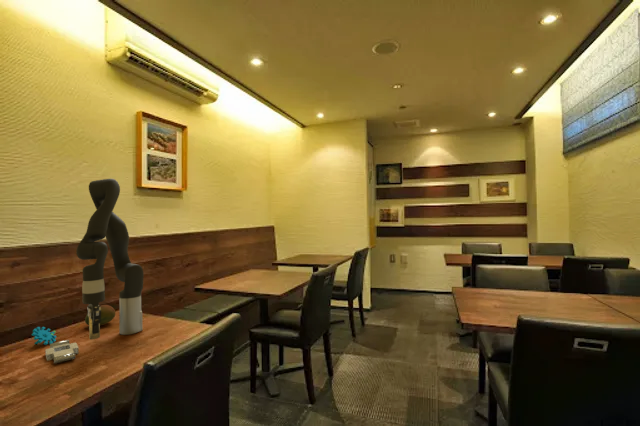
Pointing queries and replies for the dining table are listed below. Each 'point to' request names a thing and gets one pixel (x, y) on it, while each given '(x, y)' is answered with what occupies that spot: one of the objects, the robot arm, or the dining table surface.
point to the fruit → (104, 314)
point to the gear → (43, 335)
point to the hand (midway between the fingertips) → (94, 331)
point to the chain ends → (62, 351)
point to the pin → (91, 335)
